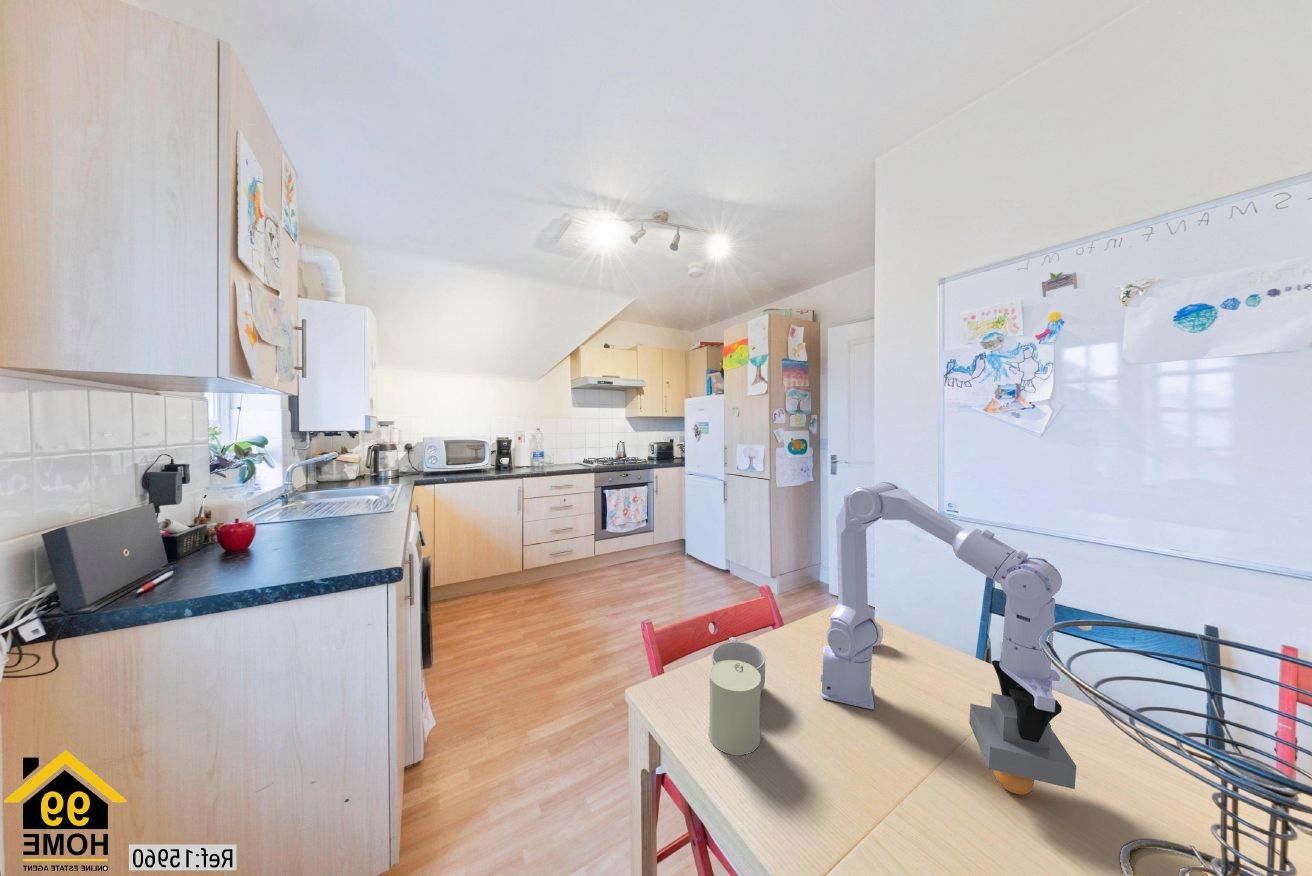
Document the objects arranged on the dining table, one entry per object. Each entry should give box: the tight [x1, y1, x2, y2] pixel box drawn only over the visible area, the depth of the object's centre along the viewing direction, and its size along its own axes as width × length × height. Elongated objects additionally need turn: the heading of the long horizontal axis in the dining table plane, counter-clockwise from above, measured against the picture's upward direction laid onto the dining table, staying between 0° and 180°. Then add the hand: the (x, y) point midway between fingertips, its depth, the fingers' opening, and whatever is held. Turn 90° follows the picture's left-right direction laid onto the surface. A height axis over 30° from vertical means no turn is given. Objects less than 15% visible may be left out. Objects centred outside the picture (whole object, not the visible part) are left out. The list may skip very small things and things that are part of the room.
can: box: [707, 660, 761, 756], centre depth 80 cm, size 9×9×12 cm
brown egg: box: [992, 770, 1035, 795], centre depth 69 cm, size 5×5×5 cm
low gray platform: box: [968, 692, 1077, 790], centre depth 69 cm, size 10×10×7 cm
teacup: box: [711, 636, 766, 693], centre depth 94 cm, size 14×11×8 cm
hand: (1020, 724), depth 68 cm, fingers closed on low gray platform, 6 cm apart
